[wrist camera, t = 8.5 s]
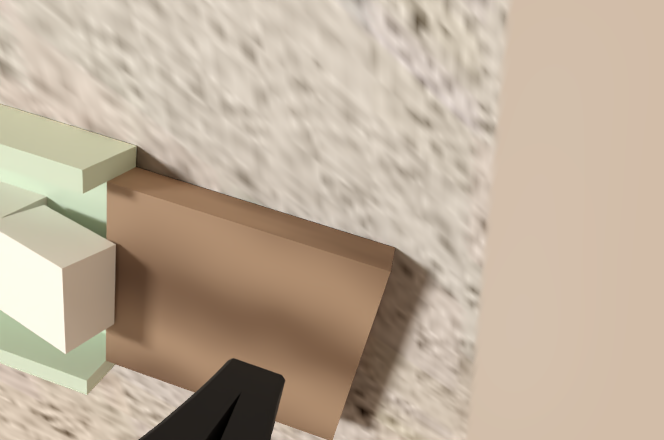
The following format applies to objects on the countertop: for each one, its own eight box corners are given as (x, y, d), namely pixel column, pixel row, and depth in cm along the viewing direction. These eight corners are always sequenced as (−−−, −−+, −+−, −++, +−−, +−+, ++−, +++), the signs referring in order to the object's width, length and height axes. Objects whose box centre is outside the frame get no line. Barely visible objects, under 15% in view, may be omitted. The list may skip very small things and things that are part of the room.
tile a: (114, 324, 22) (65, 353, 20) (48, 283, 23) (-4, 307, 21) (115, 244, 20) (62, 268, 18) (44, 204, 21) (-15, 222, 19)
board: (340, 409, 24) (331, 441, 22) (129, 335, 25) (105, 360, 23) (395, 247, 19) (390, 271, 18) (135, 166, 20) (106, 181, 19)
